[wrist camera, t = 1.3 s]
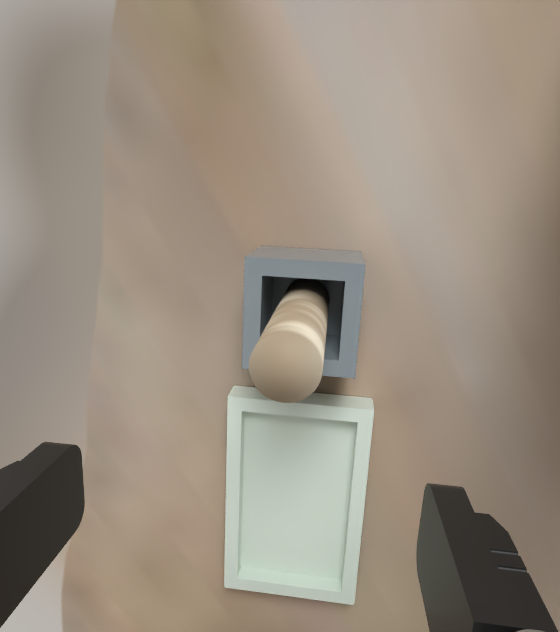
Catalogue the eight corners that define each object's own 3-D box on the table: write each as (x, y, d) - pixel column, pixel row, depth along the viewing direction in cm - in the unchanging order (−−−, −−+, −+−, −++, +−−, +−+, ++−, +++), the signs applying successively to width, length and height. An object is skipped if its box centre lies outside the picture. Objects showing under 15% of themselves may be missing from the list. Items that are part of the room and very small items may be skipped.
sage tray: (372, 398, 34) (374, 410, 32) (353, 584, 38) (354, 605, 36) (234, 385, 35) (227, 396, 33) (229, 568, 39) (224, 587, 37)
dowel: (331, 279, 31) (325, 335, 19) (327, 323, 32) (320, 406, 19) (285, 276, 32) (249, 330, 19) (283, 320, 32) (247, 399, 20)
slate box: (360, 251, 32) (365, 264, 26) (352, 346, 33) (355, 378, 27) (261, 245, 32) (244, 256, 26) (258, 339, 34) (241, 368, 28)
